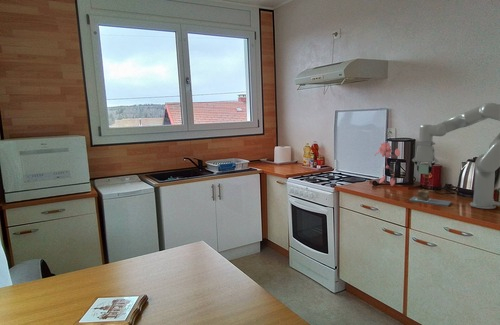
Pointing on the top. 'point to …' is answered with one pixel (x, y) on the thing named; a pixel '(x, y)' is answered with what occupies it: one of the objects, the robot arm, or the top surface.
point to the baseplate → (432, 201)
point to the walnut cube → (423, 195)
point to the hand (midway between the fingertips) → (424, 171)
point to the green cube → (423, 169)
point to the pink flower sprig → (386, 152)
